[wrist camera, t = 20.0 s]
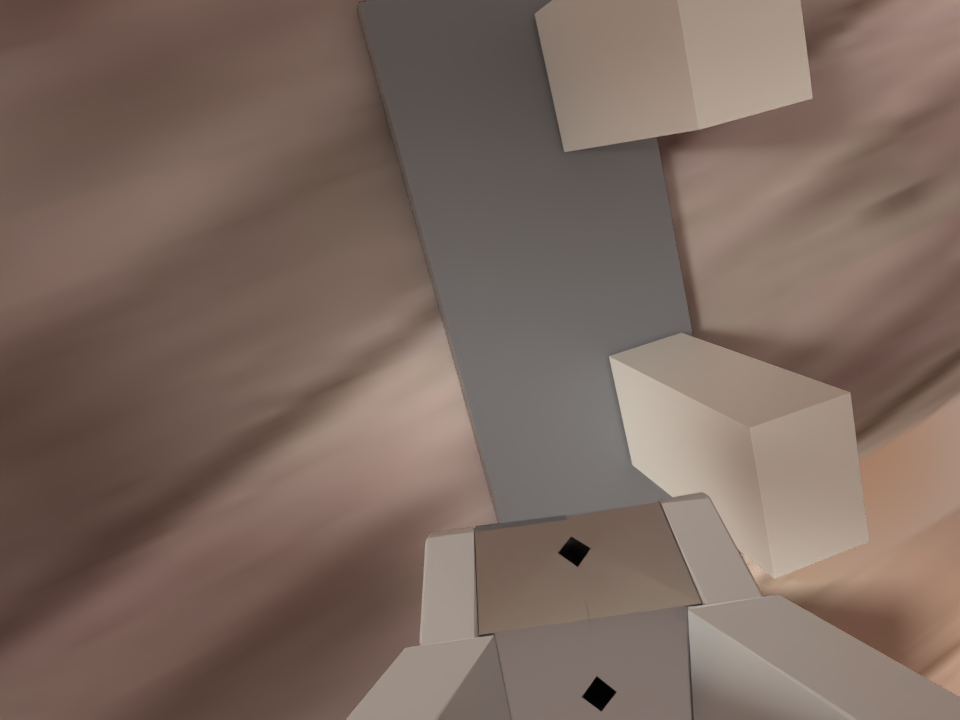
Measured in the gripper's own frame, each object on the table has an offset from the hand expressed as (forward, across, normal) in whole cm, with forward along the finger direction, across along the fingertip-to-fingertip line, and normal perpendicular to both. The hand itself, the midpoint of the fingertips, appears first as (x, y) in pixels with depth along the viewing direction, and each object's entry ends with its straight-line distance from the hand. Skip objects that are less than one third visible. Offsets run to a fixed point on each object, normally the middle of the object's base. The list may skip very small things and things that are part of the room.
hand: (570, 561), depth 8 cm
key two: (+27, -7, +13) cm, 31 cm away
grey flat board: (+27, -3, +14) cm, 31 cm away
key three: (+29, -5, -2) cm, 30 cm away
